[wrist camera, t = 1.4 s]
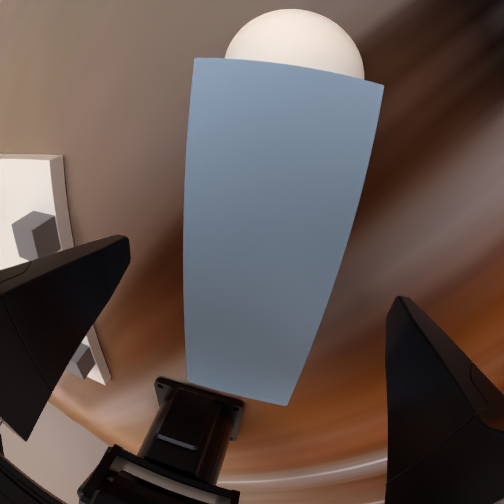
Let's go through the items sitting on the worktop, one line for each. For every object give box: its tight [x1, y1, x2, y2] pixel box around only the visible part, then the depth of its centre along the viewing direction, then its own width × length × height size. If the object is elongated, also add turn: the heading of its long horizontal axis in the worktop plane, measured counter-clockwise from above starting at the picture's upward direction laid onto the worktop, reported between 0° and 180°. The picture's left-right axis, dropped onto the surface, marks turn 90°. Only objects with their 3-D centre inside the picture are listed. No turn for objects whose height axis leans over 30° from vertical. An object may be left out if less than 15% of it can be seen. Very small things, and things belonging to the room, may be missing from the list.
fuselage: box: [183, 9, 384, 406], centre depth 10 cm, size 14×4×4 cm, turn 173°
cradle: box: [0, 154, 111, 385], centre depth 16 cm, size 18×10×3 cm, turn 173°
